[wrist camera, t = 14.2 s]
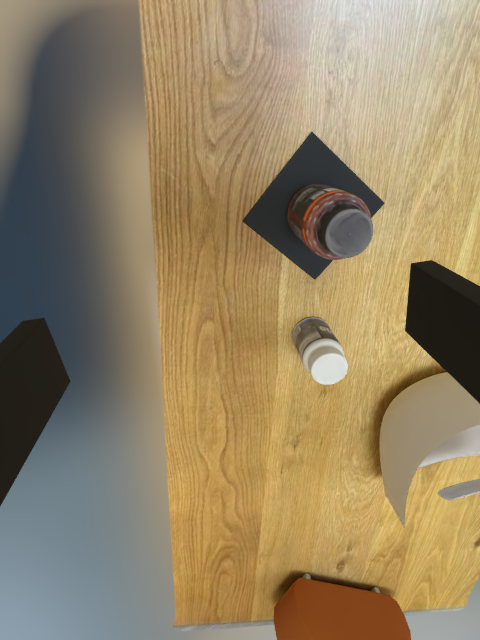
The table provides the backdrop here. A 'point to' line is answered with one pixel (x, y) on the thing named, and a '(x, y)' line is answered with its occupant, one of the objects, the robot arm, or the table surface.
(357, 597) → the orange toaster
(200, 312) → the table surface
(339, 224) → the supplement bottle
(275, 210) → the mat
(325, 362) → the pill bottle
